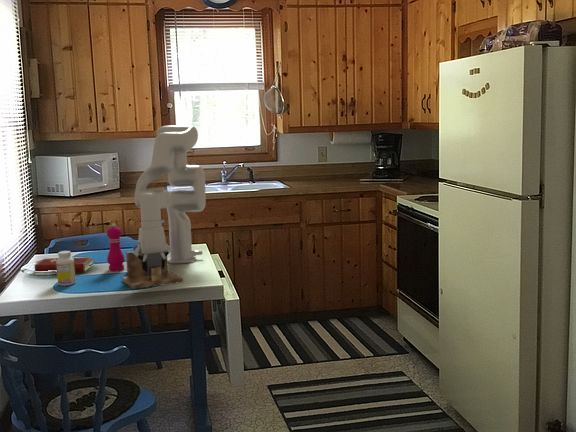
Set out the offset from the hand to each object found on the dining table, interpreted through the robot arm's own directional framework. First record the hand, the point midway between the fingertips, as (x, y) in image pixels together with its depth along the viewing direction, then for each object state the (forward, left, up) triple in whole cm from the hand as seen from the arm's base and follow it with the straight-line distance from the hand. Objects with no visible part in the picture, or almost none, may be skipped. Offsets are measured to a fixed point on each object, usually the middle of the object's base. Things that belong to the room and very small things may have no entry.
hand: (153, 269), depth 269 cm
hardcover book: (+26, -45, -6) cm, 52 cm away
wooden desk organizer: (0, -3, -5) cm, 6 cm away
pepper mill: (+7, -31, -6) cm, 32 cm away
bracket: (0, 0, -2) cm, 2 cm away
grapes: (-2, -23, -6) cm, 23 cm away
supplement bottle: (+30, -18, -6) cm, 35 cm away
